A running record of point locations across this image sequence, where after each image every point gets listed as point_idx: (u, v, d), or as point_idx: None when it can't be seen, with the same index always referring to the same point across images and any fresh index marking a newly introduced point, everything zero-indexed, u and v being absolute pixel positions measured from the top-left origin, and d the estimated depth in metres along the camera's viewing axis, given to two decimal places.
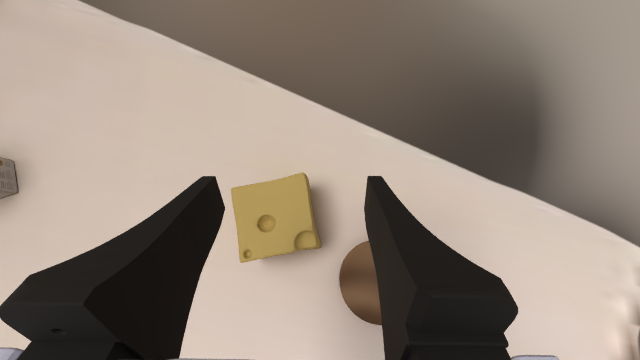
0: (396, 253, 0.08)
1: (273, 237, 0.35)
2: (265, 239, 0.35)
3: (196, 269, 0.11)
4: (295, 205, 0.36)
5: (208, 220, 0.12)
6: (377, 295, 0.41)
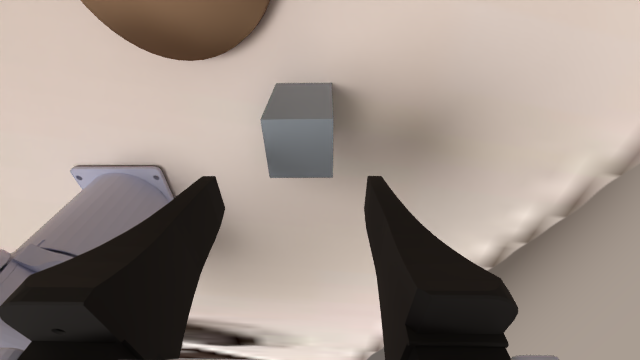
0: (396, 253, 0.08)
1: None
2: None
3: (196, 269, 0.11)
4: None
5: (208, 220, 0.12)
6: None
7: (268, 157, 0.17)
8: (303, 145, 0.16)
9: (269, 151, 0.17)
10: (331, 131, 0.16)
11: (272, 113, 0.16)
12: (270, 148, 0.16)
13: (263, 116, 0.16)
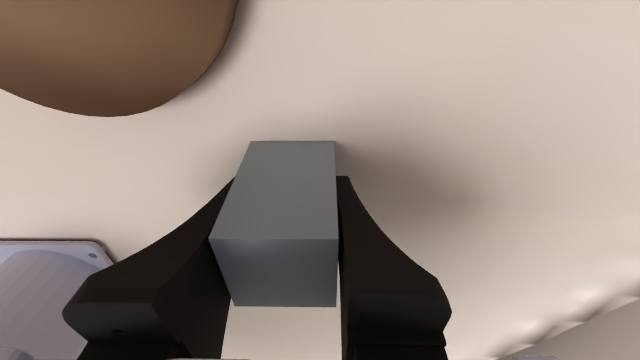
0: (344, 253, 0.08)
1: None
2: None
3: None
4: None
5: None
6: None
7: (229, 284, 0.10)
8: (286, 271, 0.09)
9: (230, 277, 0.10)
10: (334, 255, 0.09)
11: (233, 219, 0.09)
12: (231, 273, 0.10)
13: (215, 228, 0.09)
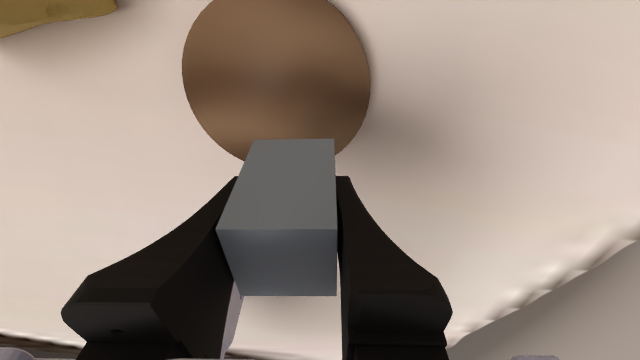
0: (345, 253, 0.08)
1: None
2: None
3: None
4: None
5: None
6: (274, 123, 0.19)
7: (234, 273, 0.11)
8: (289, 260, 0.10)
9: (235, 266, 0.10)
10: (334, 244, 0.09)
11: (238, 211, 0.10)
12: (236, 263, 0.10)
13: (222, 220, 0.09)
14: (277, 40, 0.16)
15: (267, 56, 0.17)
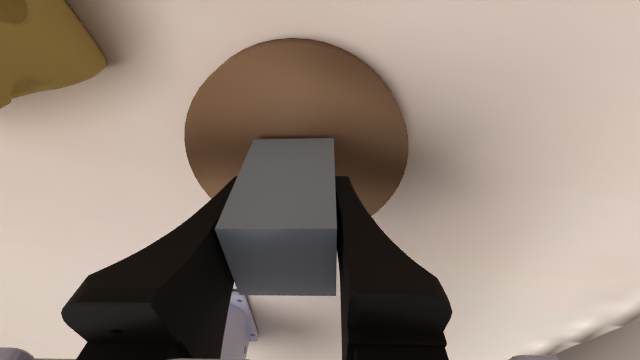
0: (345, 253, 0.08)
1: None
2: None
3: None
4: None
5: None
6: None
7: (234, 273, 0.11)
8: (288, 260, 0.10)
9: (235, 266, 0.10)
10: (333, 244, 0.09)
11: (238, 211, 0.10)
12: (236, 263, 0.10)
13: (221, 219, 0.09)
14: (300, 107, 0.13)
15: (288, 124, 0.14)
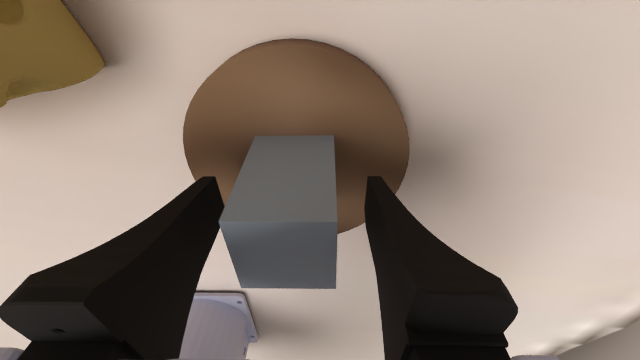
0: (396, 253, 0.08)
1: None
2: None
3: (196, 269, 0.11)
4: None
5: (208, 220, 0.12)
6: None
7: (236, 266, 0.11)
8: (290, 253, 0.10)
9: (237, 259, 0.11)
10: (334, 237, 0.10)
11: (240, 205, 0.10)
12: (238, 256, 0.10)
13: (224, 212, 0.10)
14: (300, 108, 0.13)
15: (287, 126, 0.14)
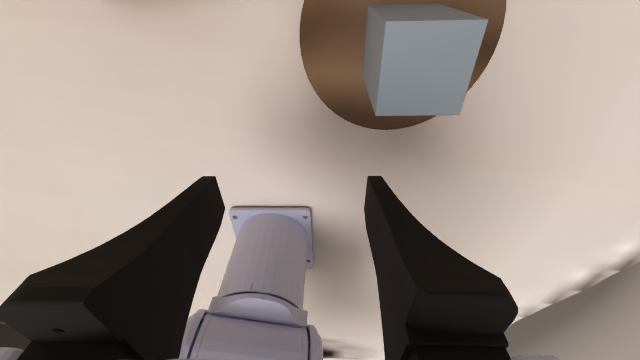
0: (397, 253, 0.08)
1: None
2: None
3: (196, 269, 0.11)
4: None
5: (208, 220, 0.12)
6: None
7: (381, 84, 0.12)
8: (434, 64, 0.12)
9: (385, 74, 0.12)
10: (479, 40, 0.11)
11: (395, 18, 0.12)
12: (387, 69, 0.12)
13: (386, 20, 0.11)
14: None
15: None
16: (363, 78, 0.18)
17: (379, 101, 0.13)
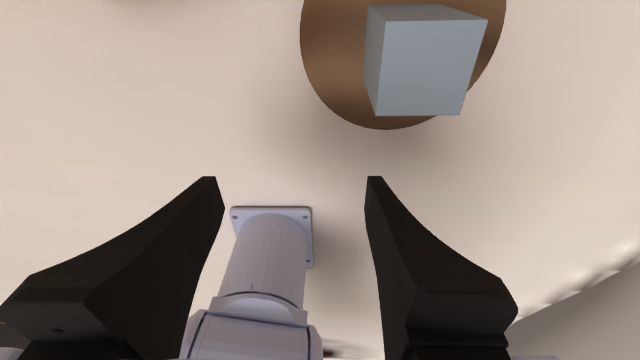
0: (396, 253, 0.08)
1: None
2: None
3: (196, 269, 0.11)
4: None
5: (208, 220, 0.12)
6: None
7: (381, 84, 0.12)
8: (434, 64, 0.12)
9: (385, 74, 0.12)
10: (479, 40, 0.11)
11: (395, 18, 0.12)
12: (387, 69, 0.12)
13: (385, 20, 0.11)
14: None
15: None
16: (363, 78, 0.18)
17: (379, 101, 0.13)
